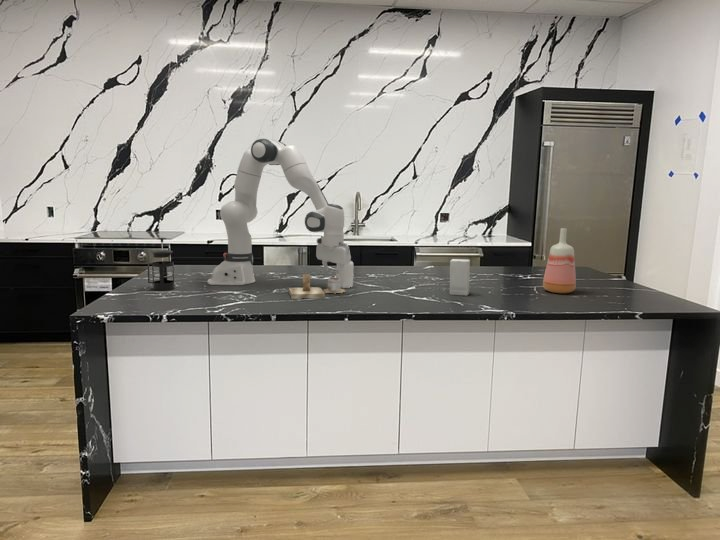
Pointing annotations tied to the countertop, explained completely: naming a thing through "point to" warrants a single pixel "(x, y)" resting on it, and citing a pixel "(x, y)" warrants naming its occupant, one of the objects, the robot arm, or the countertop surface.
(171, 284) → the french press
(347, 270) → the pill bottle
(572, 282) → the vase
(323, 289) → the coaster
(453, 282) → the skincare box
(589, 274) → the countertop surface
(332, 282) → the cap
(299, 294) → the post stand
